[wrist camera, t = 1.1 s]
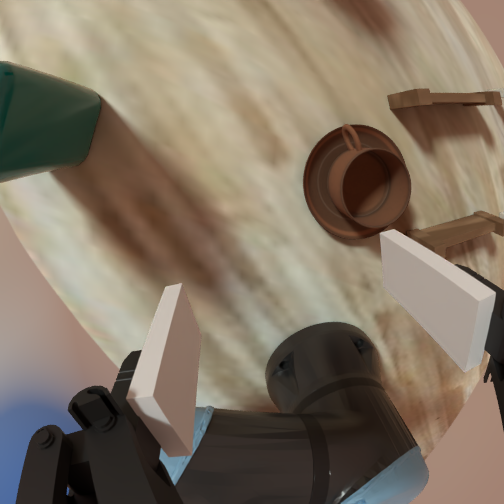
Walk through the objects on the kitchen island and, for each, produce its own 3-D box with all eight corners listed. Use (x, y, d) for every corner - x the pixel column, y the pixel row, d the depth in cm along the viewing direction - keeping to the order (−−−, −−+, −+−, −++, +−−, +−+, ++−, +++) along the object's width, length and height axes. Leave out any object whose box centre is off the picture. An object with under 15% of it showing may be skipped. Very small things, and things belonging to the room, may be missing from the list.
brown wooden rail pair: (480, 221, 34) (509, 233, 29) (407, 243, 34) (434, 261, 29) (468, 94, 28) (499, 91, 23) (387, 95, 28) (416, 88, 23)
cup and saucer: (274, 176, 31) (286, 183, 25) (356, 103, 29) (382, 96, 23) (345, 255, 34) (367, 277, 29) (415, 186, 32) (447, 195, 26)
